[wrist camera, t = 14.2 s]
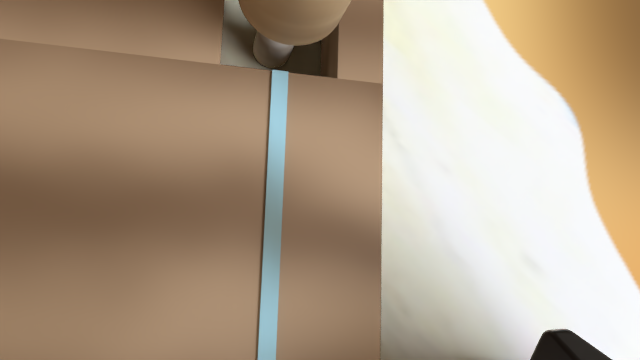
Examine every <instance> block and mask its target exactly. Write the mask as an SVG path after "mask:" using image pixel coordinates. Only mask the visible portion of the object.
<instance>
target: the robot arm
mask: <svg viewBox="0 0 640 360" xmlns="http://www.w3.org/2000/svg"><path fill="white" fill-rule="evenodd" d="M530 360H612V359H610V358H609V357H607V356H606V355H605V354H603V353H602V352H600V351H599V350H598V349H596V348H595V347H593V346H592V345H590V344H589V343H588V342H586V341H585V340H583V339H582V338H581V337H579V336H578V335H576V334H575V333H573V332H572V331H570V330H567V329H555V330H547V331H545V332H544V333H543V334H542V336H541V338H540V340H539V342H538V344H537V346H536V348H535V350H534V353H533V355H532V357H531V359H530Z"/></svg>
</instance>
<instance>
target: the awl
mask: <svg viewBox="0 0 640 360" xmlns="http://www.w3.org/2000/svg"><path fill="white" fill-rule="evenodd" d="M238 1H239V4H240V7H241V10H242V12H243V14H244V16H245V17H246V19H247V20H248V21H249V23H250V24H251V25H252V26H253V27H254V28H255V29H256V30H257V33H256V37H255V40H254V44H253V54H254V57H255V58H256V60H257V61H258V62H259V63H260V64H262V65H263V66H265V67H269V68H277V67H280V66H282V65H284V64H285V63H286V62H287V60H288V58H289V56H290V54H291V52H292V49H293V47H294V46H300V45H308V44H312V43H315V42H318V41H320V40H322V39H323V38H325V37H326V36H328V35H329V34H330V33H331V32H332V31H333V30H334V29H335V28H336V26H337V25H338V23H339V21H340V20H341V18H342V16H343V14H344V13H345V11H346V9H347V7H348V6H349V4H350V2H351V0H238Z"/></svg>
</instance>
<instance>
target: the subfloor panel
mask: <svg viewBox="0 0 640 360" xmlns="http://www.w3.org/2000/svg"><path fill="white" fill-rule="evenodd" d="M223 15H224V0H0V360H380V338H381V224H382V110H383V0H351V2H350V4H349V6H348V7H347V9H346V11H345V13H344V14H343V16H342V18H341V20H340V21H339V23H338V25H337V26H336V28H335V29H334V30H333V31H332V32H331V33H330V34H329V35H328V36H326V37H325V38H323V39H322V43H321V74H320V76H313V75H305V74H296V73H288V71H280V70H272V71H271V70H262V69H254V68H245V67H237V66H228V65H220V57H221V43H222V29H223Z"/></svg>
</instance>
